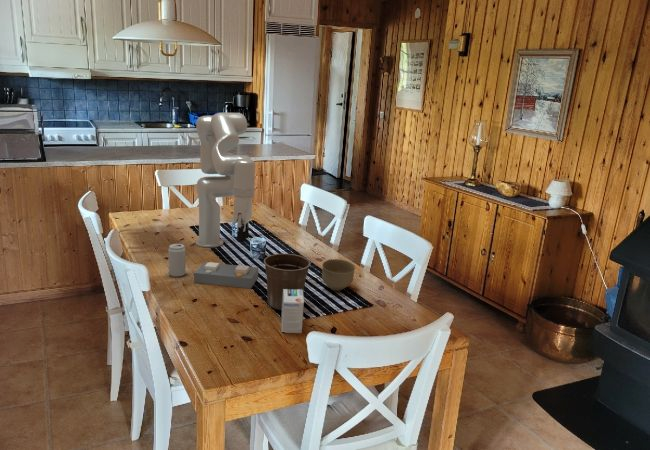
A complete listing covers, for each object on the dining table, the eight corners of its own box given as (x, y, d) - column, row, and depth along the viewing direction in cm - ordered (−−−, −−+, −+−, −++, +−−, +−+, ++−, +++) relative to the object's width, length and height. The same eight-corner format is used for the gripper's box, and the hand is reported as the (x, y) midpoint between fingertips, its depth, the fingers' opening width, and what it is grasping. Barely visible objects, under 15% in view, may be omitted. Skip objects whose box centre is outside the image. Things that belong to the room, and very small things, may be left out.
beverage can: (189, 273, 209) (188, 245, 206) (178, 278, 203) (177, 249, 200) (176, 270, 211) (175, 242, 208) (165, 275, 206) (164, 246, 202)
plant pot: (316, 303, 190) (319, 261, 186) (289, 318, 177) (291, 273, 173) (281, 290, 199) (283, 250, 194) (252, 304, 186) (254, 261, 181)
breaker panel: (204, 271, 212) (204, 260, 211) (258, 276, 210) (258, 266, 209) (194, 282, 201) (194, 271, 199) (250, 288, 199) (251, 277, 198)
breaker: (208, 269, 208) (208, 262, 207) (219, 270, 207) (219, 263, 206) (204, 273, 203) (204, 265, 203) (215, 274, 203) (215, 267, 202)
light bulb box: (281, 318, 177) (282, 288, 174) (301, 318, 178) (302, 288, 175) (281, 333, 167) (282, 302, 164) (302, 333, 168) (304, 302, 165)
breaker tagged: (238, 272, 207) (238, 265, 206) (249, 273, 206) (249, 266, 205) (235, 276, 202) (235, 268, 202) (246, 277, 202) (246, 270, 201)
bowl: (325, 296, 196) (327, 271, 193) (317, 283, 208) (318, 259, 205) (357, 294, 200) (359, 270, 197) (347, 281, 211) (349, 258, 209)
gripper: (239, 187, 203) (238, 232, 209) (227, 196, 188) (227, 245, 193) (258, 188, 203) (257, 234, 208) (248, 198, 187) (247, 247, 192)
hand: (242, 239), depth 200 cm, fingers open, 3 cm apart
